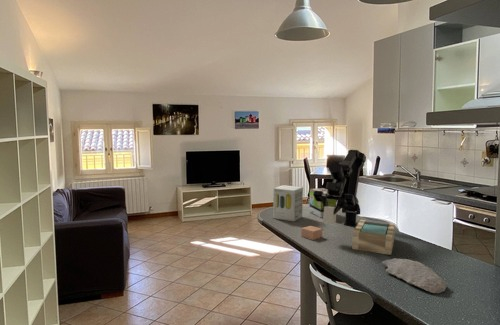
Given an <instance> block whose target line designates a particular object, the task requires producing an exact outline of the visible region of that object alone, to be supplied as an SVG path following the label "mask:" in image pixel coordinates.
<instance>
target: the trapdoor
mask: <svg viewBox="0 0 500 325" xmlns="http://www.w3.org/2000/svg"><path fill="white" fill-rule="evenodd" d="M365 220H366V221H365V224H364V226H363V228H362V230H361V232H365V233H373V234H380V235H386V232H387V230H388V223H389V222H388V221H383V220H382V221H379V220H372V219H365Z"/></svg>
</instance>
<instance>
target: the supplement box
mask: <svg viewBox="0 0 500 325" xmlns="http://www.w3.org/2000/svg"><path fill="white" fill-rule="evenodd" d="M303 193H304V186H294V185H287V184H283V185H280V186H279V185H278V186H276V187H273V201H272V202H273V205H272V207H273V208H272V209H273V210H272V211H273V214H272V218H273V219H277V220H282V221H283V220H284V221H290V222H295V221H297V220H299V219H300V218H302V217H303V200H304V199H303V198H304V197H303V196H304V194H303Z"/></svg>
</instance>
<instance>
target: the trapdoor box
mask: <svg viewBox="0 0 500 325" xmlns="http://www.w3.org/2000/svg"><path fill="white" fill-rule="evenodd" d="M366 220H367V219H360V220H359V222H357V225H356V226H355V228H354V230H353V231H352V243H351V244H352V246H351V247H352V250H358V251H364V252H370V253H378V254H384V255H389V256H391V255H392V252H393V247H394V243H395V242H394V241H395V232H396V231H395V230H396V223H391V222H388V230H387V232H386V235H380V234H373V233H365V232H361V230H362V228H363V226H364V224H365V221H366Z"/></svg>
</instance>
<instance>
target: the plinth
mask: <svg viewBox="0 0 500 325" xmlns="http://www.w3.org/2000/svg"><path fill="white" fill-rule="evenodd" d="M300 229H301V230H300V232H301V233H300V234H301V235H300V236H301V237H302V238H305V239H308V240H312V241H314V240H318V239H321V238H322V237H323V228H321V227H317V226H313V225H309V226H304V227H301V228H300ZM320 237H321V238H320ZM317 238H318V239H317Z"/></svg>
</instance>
